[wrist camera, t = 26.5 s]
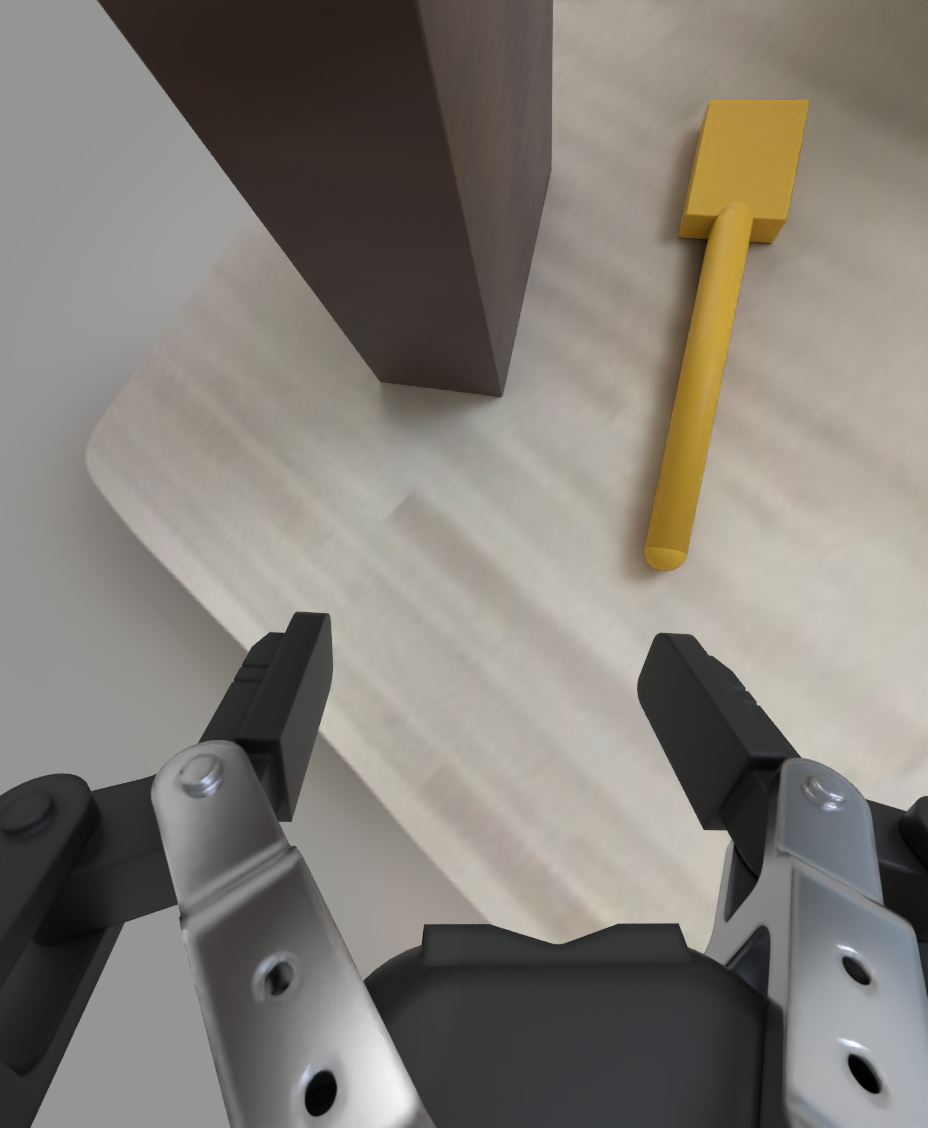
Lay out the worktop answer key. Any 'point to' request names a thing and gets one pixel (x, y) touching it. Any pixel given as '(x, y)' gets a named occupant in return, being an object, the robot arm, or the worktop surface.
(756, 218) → the hammer
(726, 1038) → the robot arm
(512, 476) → the worktop surface
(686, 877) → the worktop surface
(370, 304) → the stand
